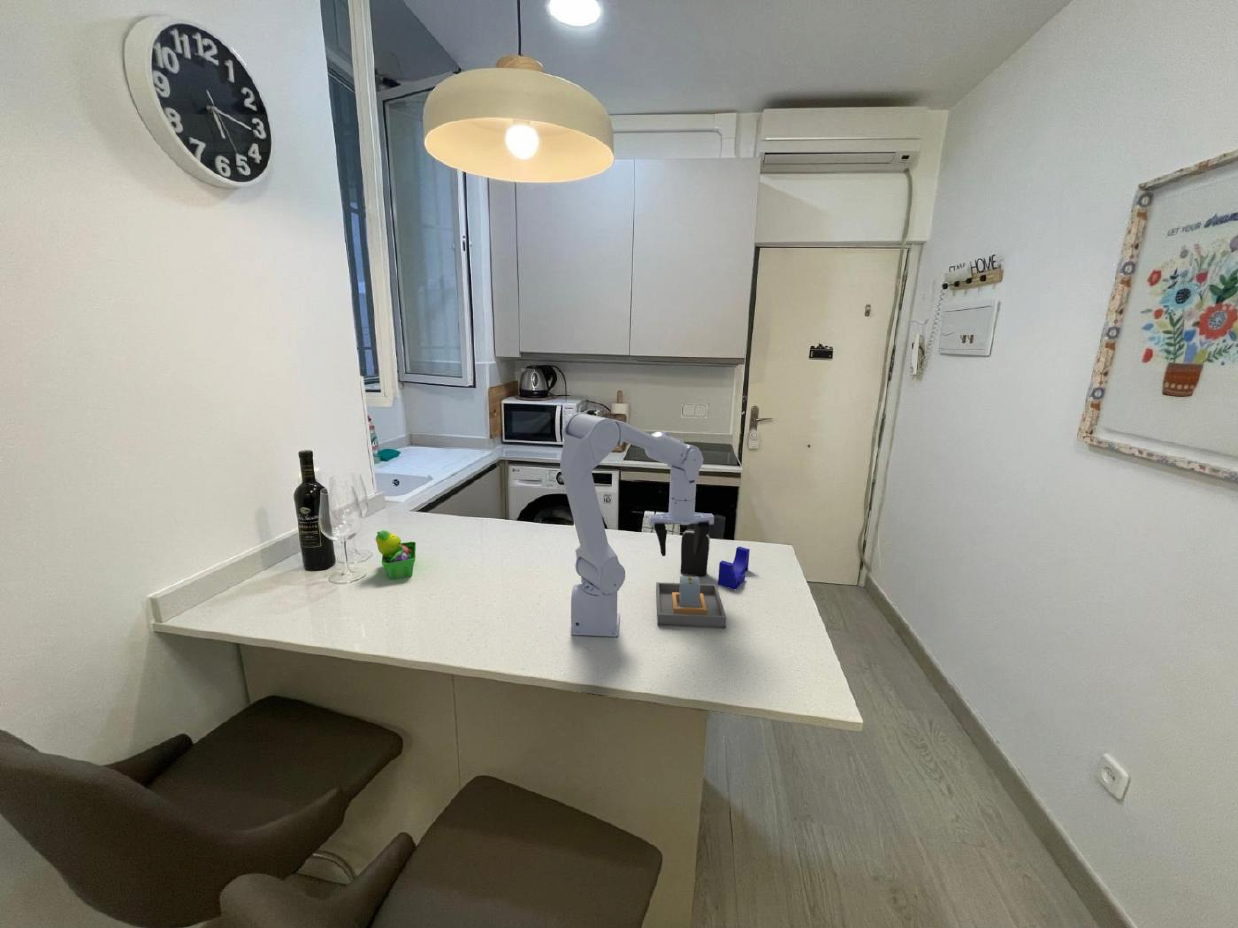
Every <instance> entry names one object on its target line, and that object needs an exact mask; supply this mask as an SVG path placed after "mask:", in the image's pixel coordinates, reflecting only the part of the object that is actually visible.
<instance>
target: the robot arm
mask: <svg viewBox="0 0 1238 928" xmlns="http://www.w3.org/2000/svg"><path fill="white" fill-rule="evenodd" d="M561 434H562V437H563V445H562V450H561V457H560V464H559V465H560V466H559V467H560V468H559V469H560V473H561V477H562V481H563V484H564V488H565V492H566V496H567V501H568V504H569V508H570V511H571V516H572V519H573V523H574V527H575V532H576V534H577V538H578V543H579V545H578V547H577V548H576V549H575V556H576V560H575V565H574V566H575V571H576V574H577V575H578V576H579V577H580V583H579V584H576V583H575V584H573V585H572V590H571V596H570V598H571V600H570V627H571V628H570V634H571V635H572V636H592V637H593V636H595V637H618V636H619V630H620V629H619V626H620V619H621V618H620V617H621V616H620V615H621V614H620V613H618V592H619V591H620V589H621V588H622V586H623V585H624V582H625V580H626V570H625V567H624V566H623V565H622V564H621V563H620V561H619V558H618V555H617V553H616V552H615V550H614V549H613V548H612V546H611V545H610V544H609V541H608V537H607V536H608V535H607V533H606V529H605V528H606V527H605V523H604V520H603V515H602V511H601V506H600V503H599V498H598V495H597V490H596V485H595V481H594V477H593V473H592V471H593V470H594V469H595V468H596V467H597V466H599V464H600V463H602V462H603V460H605V459H606V457H608V455H610V454H611V452H613V451H614V449H615V448H616V447H617V446H618V447H622V446H623V445H624V444H623V443H626V444H630V445H632V446H634V447H638V448H641V449H643V450H644V452H645V453H644V454H645V455H646V457H648V458H649V459H651V460H654V461H657V462H659V463H661V464H662V463H663V464H665V465H667V466H668V467H670V471H669V472H670V475H669V498H668V499H669V500H668V501H669V502H668V512H664V513H657V514H649V515H648V525H649V527H653V528H654V531H655V533H656V537H657V540H658V543H659V548H660V555H661V556H662V557H666V556H667V553H666V551H667V550H666V549H667V548H666V547H667V546H666V545H667V544H666V543H667V535H668V530H667V529H666V527H667V526H668V525H681V526H689V525H693V529H694V545H693V551H694V553H695V555H699V551H700V548H701V545H702V543H703V541H704V539H705V537H706V536H707V534H708V533H709V534H710V531H711V526H710V525H714V523H715V516H714V515H713V513H704V512H696V511H695V510H696V508H695V507H696V496H697V495H696V493H697V479H698V478H699V475H700V469H701V468H702V466H703V464H704V459H705V458H704V457H703V454H702V451H701V450H700V449H699V447H698V446H696V445H691V444H687V443H685V440H684V439H682V438H679V437H678V438H675V437H672V436H670V435H671V433H670V432H668V431H665V430H661V431H655V432H652V433H651V434H650V433H647V432H646V431H644V430H641V429H639V428H637V427H635V426H633V425H632V424H629V423H627V422H625V421H621V420H616V419H612V418H607V417H604V416H598V415H592V414H588V413H587V412H581V411H579V412H576V413H574V414H572V415H571V416H570V417H569V418H568V420H567V422H566V424H564V426H563V428H562V429H561ZM666 525H667V526H666Z"/></svg>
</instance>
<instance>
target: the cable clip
mask: <svg viewBox="0 0 1238 928" xmlns="http://www.w3.org/2000/svg"><path fill="white" fill-rule="evenodd" d="M750 552H751V551H750V548H746V547H743V546H737V547H736V549H735V554H734V555H735V556H734V559H733V562H729V561H726V560H721V561H720V562H719V565H718V566H719V567H718V578H717V579H718V580H717V581H718V582H717V586H721V587H725V588H728V589H731V590H735V591H736V590H737V589H738V588H739V587H740V586H741V585H742V584H743V583H744V582H745V581H746V575H744V574H746V573H747V571H748V570H749V564H750V563H749V562H750Z"/></svg>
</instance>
